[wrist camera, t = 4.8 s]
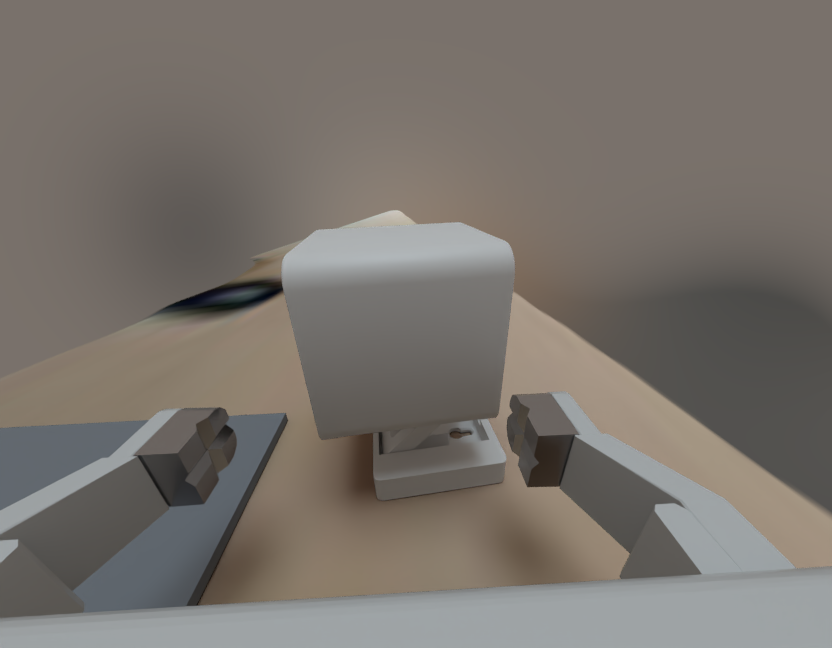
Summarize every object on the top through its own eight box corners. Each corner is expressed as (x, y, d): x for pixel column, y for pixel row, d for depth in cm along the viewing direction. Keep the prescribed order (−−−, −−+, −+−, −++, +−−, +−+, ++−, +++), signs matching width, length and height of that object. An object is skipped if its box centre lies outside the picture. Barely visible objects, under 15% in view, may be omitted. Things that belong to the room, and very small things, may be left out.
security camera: (348, 407, 17) (317, 227, 13) (465, 393, 18) (474, 219, 13) (336, 518, 11) (273, 261, 7) (510, 491, 12) (549, 243, 8)
